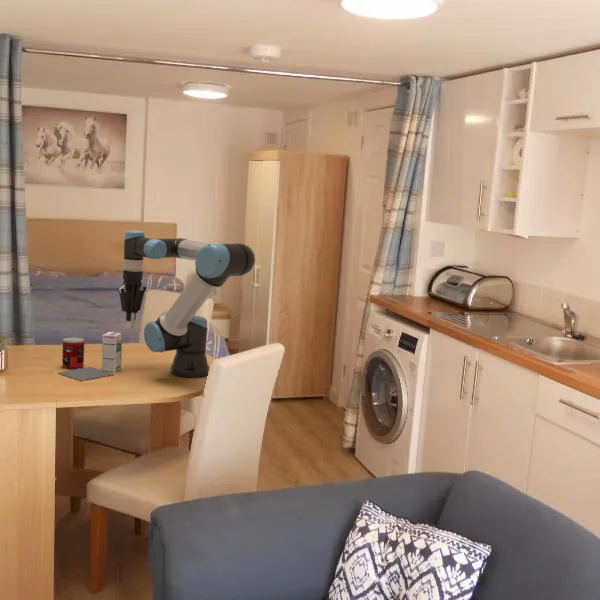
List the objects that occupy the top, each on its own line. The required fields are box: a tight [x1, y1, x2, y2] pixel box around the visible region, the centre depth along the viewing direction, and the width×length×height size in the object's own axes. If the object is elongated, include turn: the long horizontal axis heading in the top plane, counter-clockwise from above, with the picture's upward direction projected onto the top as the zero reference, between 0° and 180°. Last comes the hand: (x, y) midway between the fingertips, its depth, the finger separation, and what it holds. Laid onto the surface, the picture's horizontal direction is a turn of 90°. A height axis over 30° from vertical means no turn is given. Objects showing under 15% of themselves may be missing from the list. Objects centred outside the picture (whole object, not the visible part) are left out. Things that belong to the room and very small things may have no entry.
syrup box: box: [101, 331, 123, 373], centre depth 286 cm, size 6×6×14 cm
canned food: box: [61, 337, 85, 370], centre depth 286 cm, size 8×8×11 cm
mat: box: [58, 366, 115, 382], centre depth 277 cm, size 14×15×1 cm
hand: (130, 328), depth 292 cm, fingers closed
